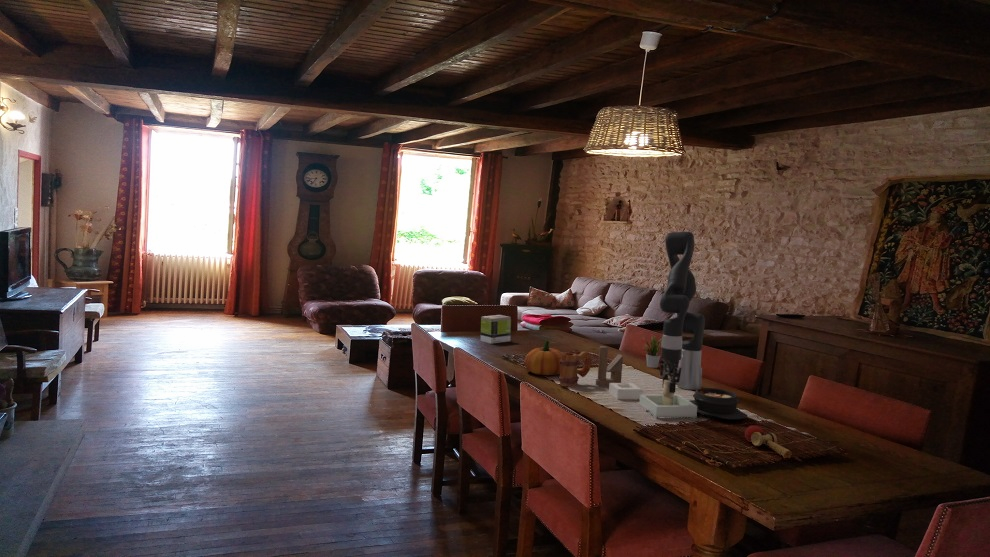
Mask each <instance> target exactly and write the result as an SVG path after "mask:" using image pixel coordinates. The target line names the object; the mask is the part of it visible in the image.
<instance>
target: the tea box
mask: <svg viewBox="0 0 990 557" xmlns="http://www.w3.org/2000/svg"><path fill="white" fill-rule="evenodd" d="M511 326H512V317H511V316H509V315H507V316H506V315H502V314H496V315H495V314H494V315H487V316H486V315H484V316H481V317H480V342H483V343H486V344H489V345H491V344H492V345H493V344H499V343H507V342H511V337H512V336H511V335H512V334H511V331H512V329H511V328H512V327H511Z"/></svg>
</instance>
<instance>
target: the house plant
mask: <svg viewBox="0 0 990 557" xmlns="http://www.w3.org/2000/svg"><path fill="white" fill-rule="evenodd" d="M642 339H643V340H644V341H645V343H646V344H647V345H646V344H644V346H645V347H643V349H644V350H645V351H647V353H646V354H645V356H646V358H645V359H646V367H647V368H652V369H657V368H658V367H659V365H660V360H661V354H659V353H660V352H661V347H660V346H662V337H661V338H660V339H658V341H657V338H656V335H655V334H653V336H651V337H650V340H651V341H650V344H649V342H648V341H647V339H645V338H644V337H642Z"/></svg>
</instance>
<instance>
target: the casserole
mask: <svg viewBox="0 0 990 557" xmlns="http://www.w3.org/2000/svg"><path fill="white" fill-rule="evenodd" d="M692 397H693V400H692V399H691V400H688V401H689V402H691V403H693V404H694V405H696V406H697V413H698V414H700V415H703V416H705V417H708V416H709V418H713V417H714V419H725V420H743V419H746V418H748V414H747V413H745V412H743V411H741V410H740V409H738V408H737V407H738V404H740V400H739V398H738V395H737V393H735V392H733V391H729V390H727V389H723V388H715V387H703V388H702V387H701V389H695V392H694V393H693V394H692Z"/></svg>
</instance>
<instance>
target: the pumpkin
mask: <svg viewBox="0 0 990 557" xmlns="http://www.w3.org/2000/svg"><path fill="white" fill-rule="evenodd" d="M549 344H550V341H549V340H545V342H544V345H543V347H536V348H533V349H532V350H530V351H529V352H528V353H527V354H526V356H525V359H524V366H525V369H526V370H527V371H528V372H530V373H532V374H535V375H538V376H546V375H547V376H548V375H549V376H556V375H560V373H561V364H560V363H559V362H560V360H561V359H562V354H563V353H562V352H561V351H560V350H559V349H555V348H552V347H550V345H549Z"/></svg>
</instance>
